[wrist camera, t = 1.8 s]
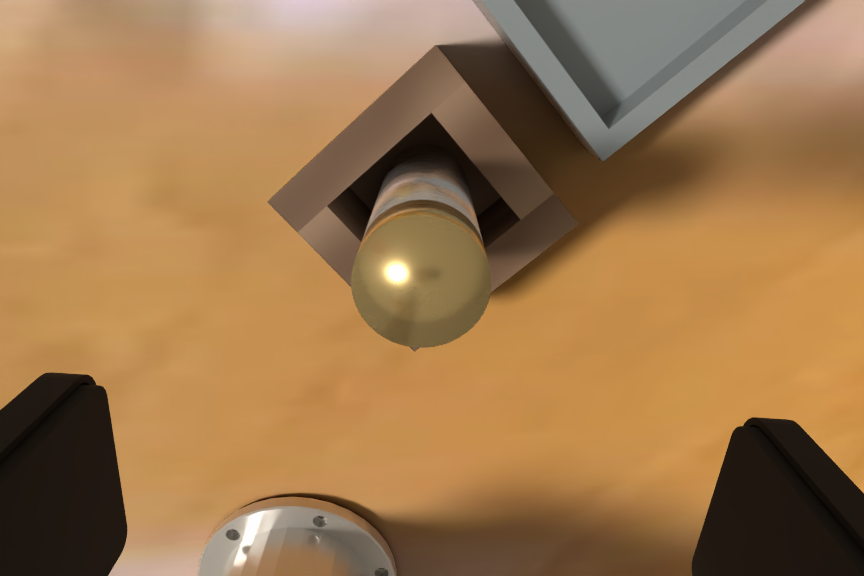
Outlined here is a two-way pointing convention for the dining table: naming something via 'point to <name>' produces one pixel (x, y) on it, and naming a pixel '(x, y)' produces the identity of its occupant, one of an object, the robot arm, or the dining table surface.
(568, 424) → the dining table surface
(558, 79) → the tray
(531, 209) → the holder block
